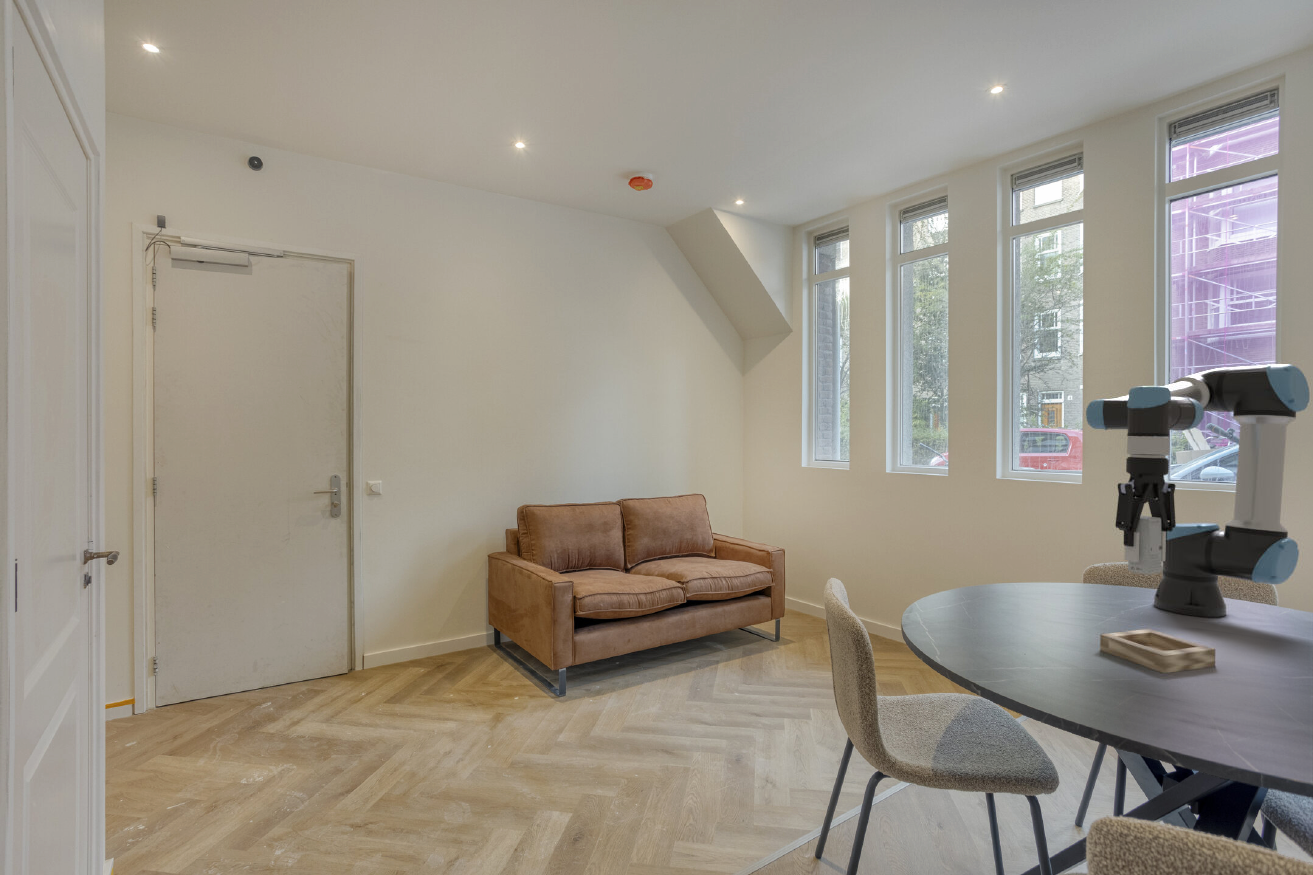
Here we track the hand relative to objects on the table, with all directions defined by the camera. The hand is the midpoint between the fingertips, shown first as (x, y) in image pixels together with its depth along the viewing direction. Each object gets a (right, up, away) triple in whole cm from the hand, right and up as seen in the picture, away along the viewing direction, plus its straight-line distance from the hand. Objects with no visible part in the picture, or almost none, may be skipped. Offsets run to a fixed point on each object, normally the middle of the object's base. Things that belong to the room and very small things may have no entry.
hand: (1144, 560), depth 147 cm
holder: (-1, -20, -5) cm, 21 cm away
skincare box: (0, -3, 0) cm, 3 cm away
